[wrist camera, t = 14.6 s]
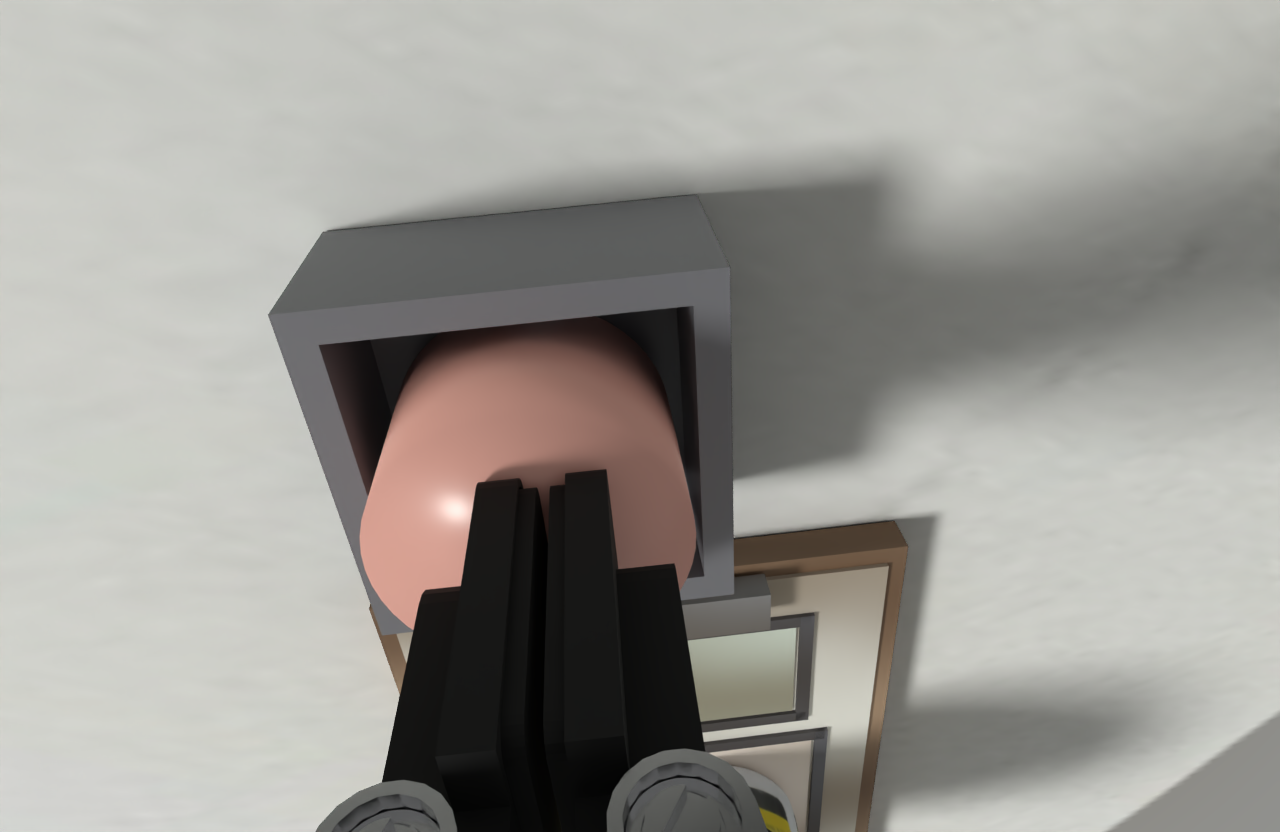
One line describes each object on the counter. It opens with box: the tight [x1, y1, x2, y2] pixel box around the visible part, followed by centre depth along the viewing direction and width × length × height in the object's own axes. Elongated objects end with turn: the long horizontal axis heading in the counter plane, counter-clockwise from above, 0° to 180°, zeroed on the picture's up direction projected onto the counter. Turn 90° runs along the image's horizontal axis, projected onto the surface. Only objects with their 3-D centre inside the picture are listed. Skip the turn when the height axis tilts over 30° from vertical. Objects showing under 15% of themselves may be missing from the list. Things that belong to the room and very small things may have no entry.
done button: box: [360, 316, 696, 630], centre depth 12 cm, size 4×4×3 cm
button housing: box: [268, 195, 734, 635], centre depth 14 cm, size 6×6×3 cm
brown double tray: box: [369, 521, 908, 832], centre depth 21 cm, size 15×11×2 cm
